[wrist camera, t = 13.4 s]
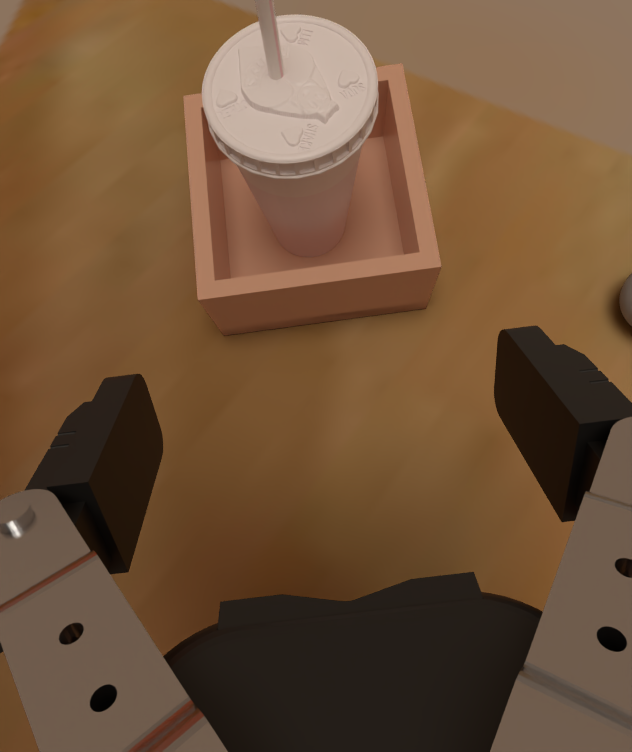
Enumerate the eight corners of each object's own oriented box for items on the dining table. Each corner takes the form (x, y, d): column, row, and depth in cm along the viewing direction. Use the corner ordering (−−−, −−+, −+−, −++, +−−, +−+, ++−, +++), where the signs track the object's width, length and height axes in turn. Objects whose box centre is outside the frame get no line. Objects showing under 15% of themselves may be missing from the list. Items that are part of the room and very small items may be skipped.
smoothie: (303, 150, 30) (262, -156, 16) (396, 216, 28) (436, -58, 15) (224, 234, 29) (110, -17, 15) (316, 305, 27) (281, 101, 14)
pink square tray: (224, 335, 28) (198, 299, 23) (209, 160, 31) (183, 96, 26) (425, 308, 28) (441, 266, 23) (394, 133, 31) (402, 63, 26)
